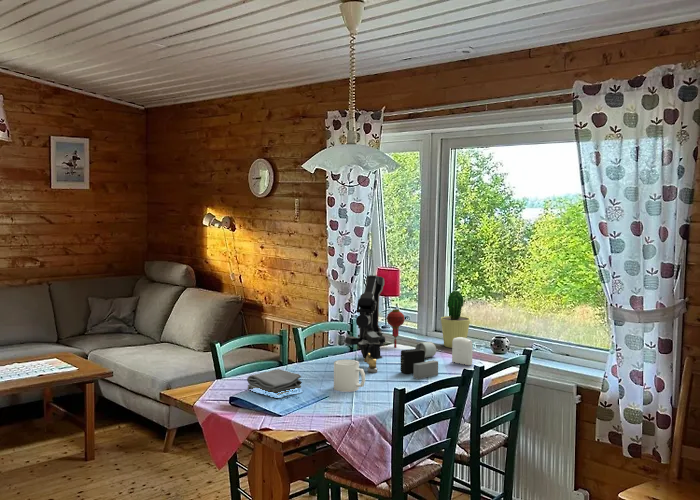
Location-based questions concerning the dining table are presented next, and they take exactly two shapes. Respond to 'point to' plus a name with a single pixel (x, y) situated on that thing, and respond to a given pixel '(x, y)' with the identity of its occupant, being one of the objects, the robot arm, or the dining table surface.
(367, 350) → the robot arm
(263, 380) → the towel
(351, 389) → the mug
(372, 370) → the grey round base
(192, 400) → the dining table surface
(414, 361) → the electronic device
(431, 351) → the ceramic mug
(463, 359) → the white rounded block
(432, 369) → the socket block
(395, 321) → the lantern
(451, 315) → the potted cactus
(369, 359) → the gold bone
